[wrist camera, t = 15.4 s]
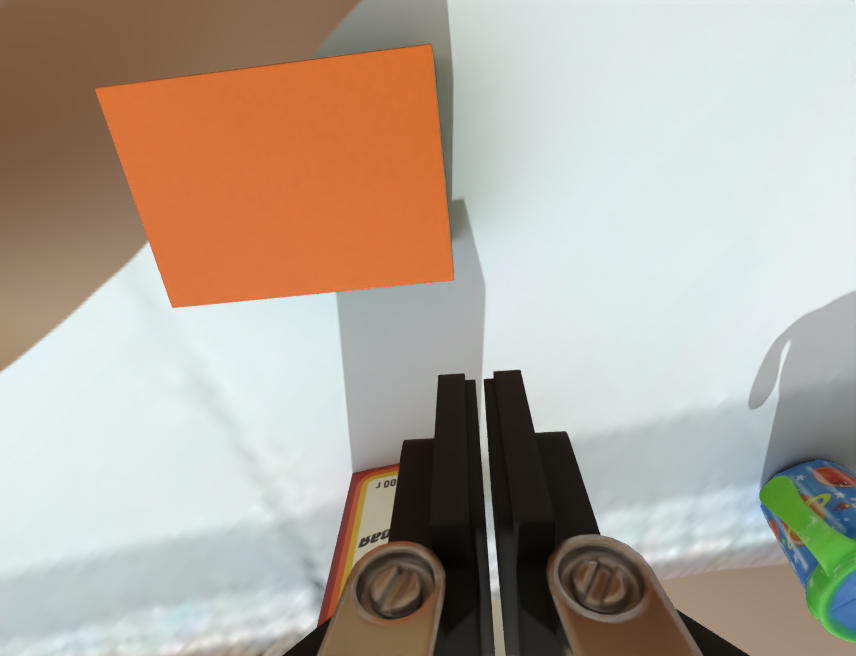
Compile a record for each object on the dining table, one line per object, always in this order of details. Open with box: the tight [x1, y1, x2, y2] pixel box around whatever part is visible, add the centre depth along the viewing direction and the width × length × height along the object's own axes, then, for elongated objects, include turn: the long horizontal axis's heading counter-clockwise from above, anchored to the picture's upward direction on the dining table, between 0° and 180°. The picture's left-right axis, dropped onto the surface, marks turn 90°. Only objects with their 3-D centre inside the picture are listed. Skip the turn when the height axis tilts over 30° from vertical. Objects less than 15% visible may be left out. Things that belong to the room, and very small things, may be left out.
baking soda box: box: [317, 463, 400, 627], centre depth 37 cm, size 10×6×16 cm
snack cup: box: [760, 459, 856, 643], centre depth 39 cm, size 16×10×10 cm
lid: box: [95, 44, 454, 308], centre depth 27 cm, size 16×12×1 cm
